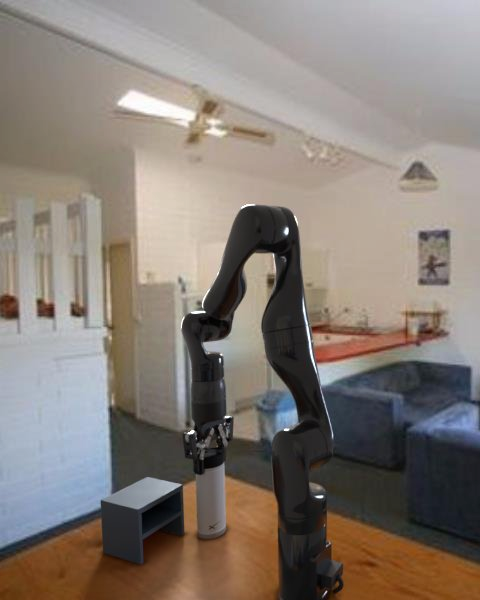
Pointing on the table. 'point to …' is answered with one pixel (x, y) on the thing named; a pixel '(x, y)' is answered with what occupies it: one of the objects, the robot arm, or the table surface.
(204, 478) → the travel mug
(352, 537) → the table surface
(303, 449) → the robot arm
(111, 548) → the shelf
